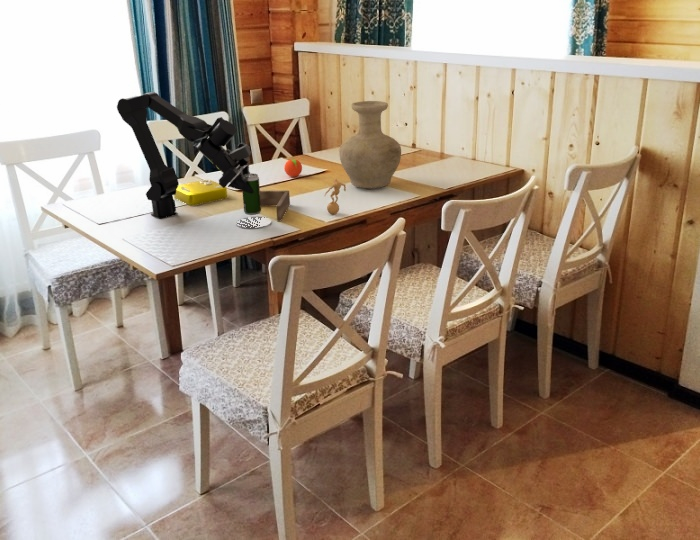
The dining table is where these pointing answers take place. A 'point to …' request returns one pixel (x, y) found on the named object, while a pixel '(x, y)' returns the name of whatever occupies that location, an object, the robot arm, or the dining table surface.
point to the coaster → (250, 222)
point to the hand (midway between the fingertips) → (255, 190)
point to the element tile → (200, 192)
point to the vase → (370, 149)
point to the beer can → (252, 195)
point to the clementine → (293, 167)
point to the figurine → (333, 206)
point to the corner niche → (276, 201)
